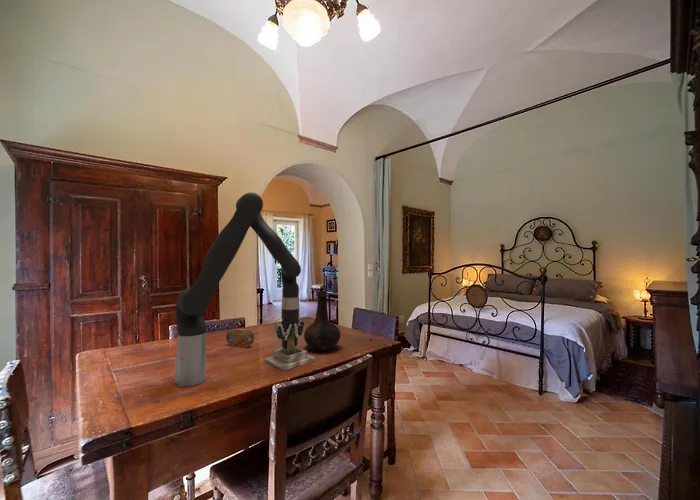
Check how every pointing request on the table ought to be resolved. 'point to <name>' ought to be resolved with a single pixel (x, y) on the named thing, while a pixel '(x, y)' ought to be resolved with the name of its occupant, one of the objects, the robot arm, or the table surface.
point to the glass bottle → (322, 328)
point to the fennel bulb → (290, 343)
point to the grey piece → (289, 359)
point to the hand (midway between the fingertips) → (289, 347)
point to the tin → (240, 338)
